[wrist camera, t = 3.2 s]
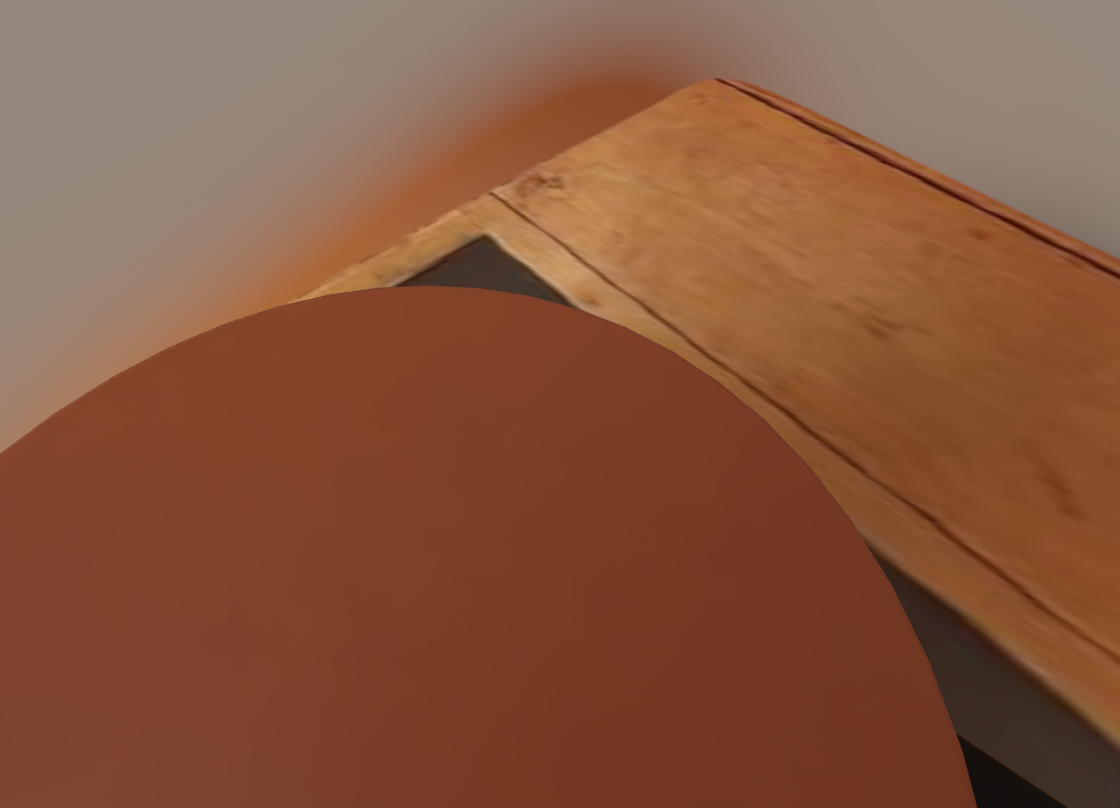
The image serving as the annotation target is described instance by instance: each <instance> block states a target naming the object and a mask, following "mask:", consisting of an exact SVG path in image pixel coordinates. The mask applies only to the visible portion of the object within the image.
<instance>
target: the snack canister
mask: <svg viewBox="0 0 1120 808" xmlns="http://www.w3.org/2000/svg"><path fill="white" fill-rule="evenodd" d="M0 808H977V805H976V801H975V797H974V793H973V790H972V786H971V782H970V778H969V774H968V770H967V767H966V763H965V759H964V755H963V751H962V749H961V746H960V743H959V741H958V738H957V735H956V732H955V730H954V727H953V724H952V722H951V719H950V716H949V714H948V711H947V708H946V706H945V703H944V700H943V697H942V695H941V692H940V689H939V687H938V684H937V681H936V679H935V676H934V673H933V671H932V668H931V665H930V662H929V660H928V658H927V656H926V654H925V652H924V650H923V648H922V646H921V644H920V642H919V640H918V638H917V636H916V634H915V632H914V630H913V628H912V625H911V623H910V621H909V619H908V617H907V615H906V613H905V611H904V609H903V607H902V605H901V603H900V601H899V599H898V597H897V595H896V593H895V591H894V589H893V587H892V585H891V583H890V582H889V580H888V578H887V577H886V575H885V574H884V572H883V570H882V569H881V567H880V566H879V564H878V562H877V561H876V559H875V558H874V556H873V554H872V553H871V551H870V550H869V548H868V546H867V545H866V543H865V542H864V540H863V538H862V537H861V535H860V534H859V532H858V530H857V529H856V527H855V526H854V524H853V522H852V521H851V519H850V518H849V517H848V516H847V514H846V513H845V512H844V510H843V509H842V508H841V507H840V505H839V504H838V503H837V501H836V500H835V499H834V498H833V496H832V495H831V494H830V493H829V491H828V490H827V489H826V487H825V486H824V485H823V484H822V482H821V481H820V480H819V478H818V477H817V476H816V475H815V473H814V472H813V471H812V469H811V468H810V467H809V466H808V465H807V464H806V463H805V461H804V460H803V459H802V458H801V457H800V456H799V455H798V454H797V453H796V452H795V451H794V450H793V449H792V448H791V447H790V446H789V445H788V444H787V443H786V442H785V441H784V440H783V439H782V438H781V437H780V436H779V435H778V434H777V433H776V432H775V431H774V430H773V428H772V427H771V426H770V425H769V424H768V423H767V422H766V421H765V420H764V419H763V418H761V417H760V416H759V415H758V414H757V413H755V412H754V411H753V410H752V409H750V408H749V407H748V406H747V405H746V404H744V403H743V402H742V401H741V400H740V399H738V398H737V397H736V396H735V395H734V394H732V393H731V392H730V391H729V390H728V389H726V388H725V387H724V386H723V385H722V384H720V383H719V382H718V381H716V380H715V379H713V378H712V377H710V376H709V375H707V374H706V373H704V372H703V371H701V370H700V369H698V368H697V367H695V366H694V365H692V364H691V363H689V362H688V361H686V360H685V359H683V358H682V357H680V356H679V355H677V354H675V353H674V352H672V351H671V350H669V349H667V348H665V347H663V346H661V345H659V344H657V343H655V342H653V341H651V340H649V339H647V338H645V337H643V336H641V335H639V334H638V333H636V332H634V331H632V330H630V329H628V328H626V327H623V326H621V325H618V324H616V323H613V322H610V321H608V320H605V319H603V318H600V317H598V316H595V315H592V314H590V313H587V312H585V311H582V310H579V309H576V308H573V307H569V306H565V305H561V304H558V303H554V302H550V301H546V300H543V299H539V298H535V297H531V296H526V295H520V294H514V293H507V292H501V291H495V290H489V289H482V288H467V287H449V286H407V287H383V288H374V289H367V290H360V291H353V292H345V293H338V294H331V295H326V296H322V297H317V298H313V299H309V300H304V301H300V302H296V303H292V304H287V305H283V306H279V307H275V308H272V309H269V310H266V311H263V312H260V313H257V314H254V315H251V316H248V317H245V318H242V319H238V320H235V321H233V322H229V323H226V324H224V325H221V326H219V327H216V328H214V329H211V330H209V331H207V332H205V333H202V334H200V335H197V336H195V337H193V338H190V339H188V340H185V341H183V342H181V343H178V344H176V345H174V346H171V347H169V348H167V349H165V350H163V351H161V352H159V353H158V354H156V355H154V356H152V357H150V358H148V359H146V360H144V361H142V362H140V363H138V364H136V365H135V366H133V367H131V368H129V369H127V370H125V371H123V372H121V373H119V374H117V375H115V376H114V377H112V378H110V379H109V380H107V381H105V382H104V383H102V384H101V385H99V386H98V387H96V388H94V389H93V390H91V391H90V392H88V393H86V394H85V395H83V396H82V397H80V398H79V399H77V400H75V401H74V402H72V403H70V404H69V405H67V406H66V407H64V408H62V409H61V410H59V411H58V412H56V413H55V414H53V415H52V416H50V417H49V418H48V419H47V420H45V421H44V422H43V423H41V424H40V425H38V426H37V427H36V428H35V429H33V430H32V431H30V432H29V433H28V434H26V435H25V436H24V437H22V438H21V439H19V440H18V441H17V442H15V443H14V444H13V445H11V446H10V447H9V448H7V449H6V450H5V451H3V452H2V453H1V454H0Z"/></svg>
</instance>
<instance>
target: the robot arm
mask: <svg viewBox="0 0 1120 808" xmlns="http://www.w3.org/2000/svg"><path fill="white" fill-rule="evenodd" d="M956 735H957V738H958V741H959V743H960V746H961V749H962V751H963V755H964V759H965V763H966V767H967V770H968V774H969V778H970V782H971V786H972V790H973V793H974V797H975V801H976V805H977V808H1068V807H1066V806H1065V805H1063V804H1062V803H1060V802H1059V801H1057V800H1056V799H1054V798H1053V797H1051V796H1050V795H1048V794H1047V793H1045V792H1044V791H1042V790H1041V789H1039V788H1038V787H1036V786H1035V785H1033V784H1032V783H1030V782H1029V781H1027V780H1026V779H1024V778H1023V777H1021V776H1020V775H1018V774H1017V773H1015V772H1014V771H1012V770H1011V769H1009V768H1008V767H1006V766H1005V765H1003V764H1002V763H1000V762H999V761H997V760H996V759H994V758H993V757H991V756H990V755H988V754H987V753H985V752H984V751H982V750H981V749H979V748H978V747H976V746H975V745H973V744H972V743H970V742H969V741H967V740H966V739H964V738H963V737H961V736H960V735H958V734H957V733H956Z"/></svg>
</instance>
